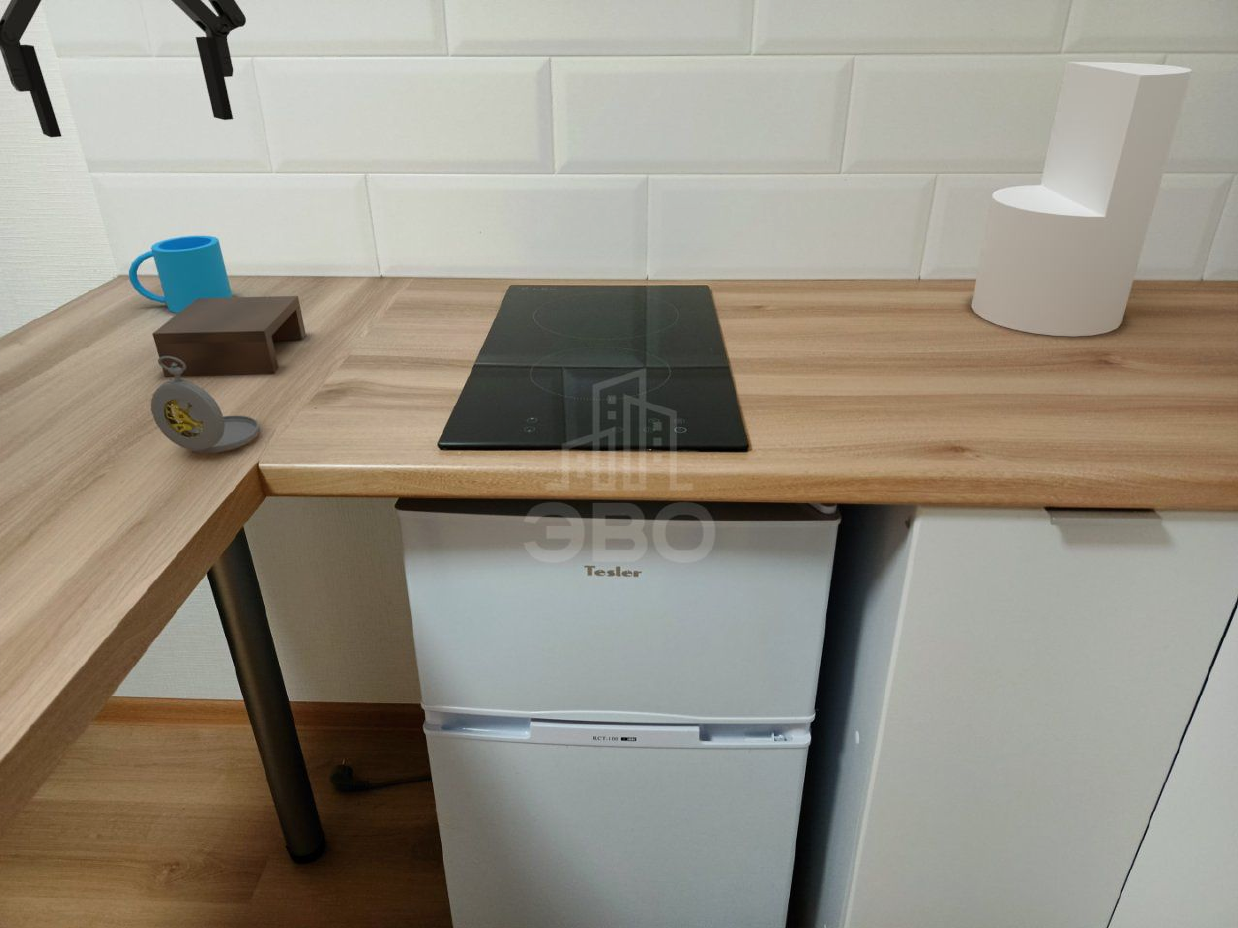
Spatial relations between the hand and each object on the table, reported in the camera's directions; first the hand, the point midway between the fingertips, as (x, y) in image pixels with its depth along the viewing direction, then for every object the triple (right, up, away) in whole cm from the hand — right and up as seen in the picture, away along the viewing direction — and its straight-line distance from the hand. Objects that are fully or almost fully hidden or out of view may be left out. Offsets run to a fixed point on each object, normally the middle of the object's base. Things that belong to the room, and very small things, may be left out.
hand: (142, 127), depth 73 cm
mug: (-18, -7, +43) cm, 47 cm away
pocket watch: (+3, -27, +7) cm, 28 cm away
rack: (-4, -16, +27) cm, 31 cm away
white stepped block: (+94, -10, +35) cm, 101 cm away
